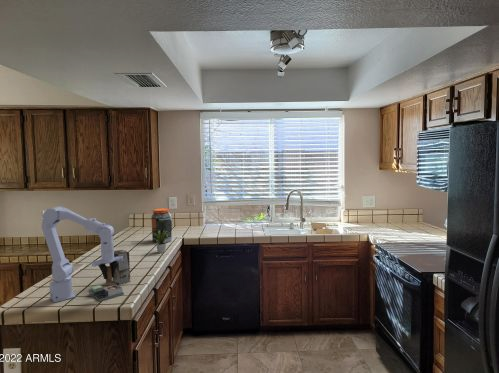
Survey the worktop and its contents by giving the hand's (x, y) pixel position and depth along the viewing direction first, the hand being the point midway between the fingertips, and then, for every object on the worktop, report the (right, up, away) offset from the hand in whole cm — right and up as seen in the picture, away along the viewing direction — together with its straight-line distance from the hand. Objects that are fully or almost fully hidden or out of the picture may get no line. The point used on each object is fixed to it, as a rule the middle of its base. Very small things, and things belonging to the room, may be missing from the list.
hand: (108, 277), depth 177 cm
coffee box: (-2, -7, +22) cm, 24 cm away
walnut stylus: (0, -2, 0) cm, 2 cm away
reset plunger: (+1, -7, +2) cm, 7 cm away
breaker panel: (-2, -9, +3) cm, 9 cm away
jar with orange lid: (-2, 0, +117) cm, 117 cm away
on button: (-7, -7, +3) cm, 10 cm away
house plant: (+6, -3, +81) cm, 82 cm away
